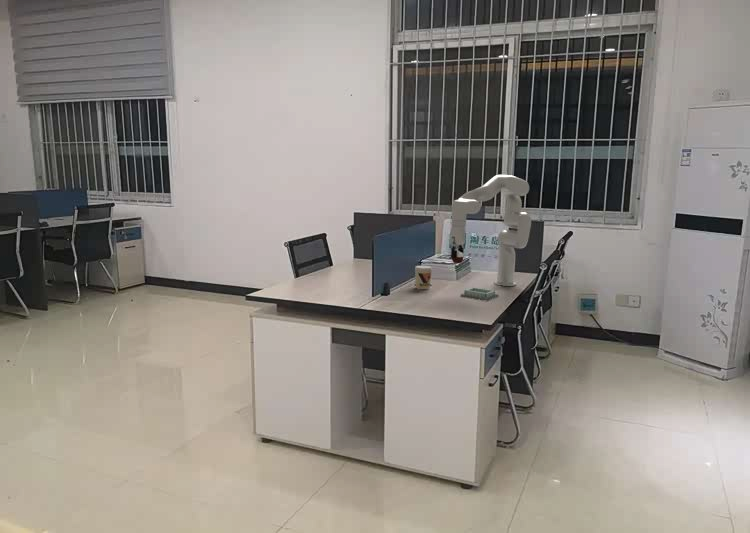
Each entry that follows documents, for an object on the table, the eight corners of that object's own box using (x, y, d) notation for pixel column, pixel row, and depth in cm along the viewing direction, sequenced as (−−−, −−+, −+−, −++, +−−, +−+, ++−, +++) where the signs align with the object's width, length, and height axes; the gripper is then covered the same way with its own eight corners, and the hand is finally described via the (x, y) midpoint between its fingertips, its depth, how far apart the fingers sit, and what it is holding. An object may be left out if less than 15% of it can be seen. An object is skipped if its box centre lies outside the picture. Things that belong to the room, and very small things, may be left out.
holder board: (472, 292, 313) (472, 286, 313) (498, 296, 305) (498, 290, 304) (460, 296, 302) (460, 290, 301) (487, 301, 293) (487, 294, 293)
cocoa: (465, 263, 311) (467, 240, 309) (464, 264, 305) (467, 241, 303) (447, 261, 313) (449, 239, 311) (446, 262, 306) (448, 240, 305)
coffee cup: (417, 290, 314) (418, 268, 312) (411, 286, 323) (412, 265, 321) (433, 289, 317) (434, 268, 315) (427, 286, 325) (428, 265, 323)
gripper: (460, 221, 314) (458, 254, 317) (444, 224, 300) (442, 258, 304) (472, 223, 310) (471, 256, 313) (457, 225, 296) (455, 259, 299)
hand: (457, 256), depth 308 cm, fingers closed on cocoa, 6 cm apart
